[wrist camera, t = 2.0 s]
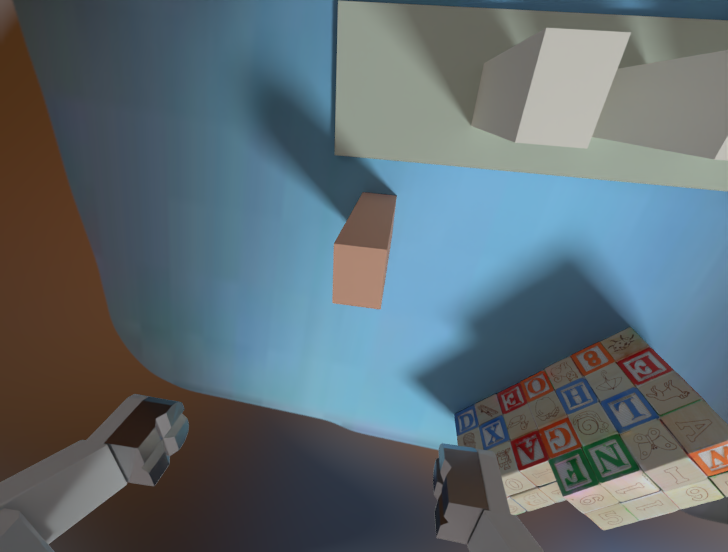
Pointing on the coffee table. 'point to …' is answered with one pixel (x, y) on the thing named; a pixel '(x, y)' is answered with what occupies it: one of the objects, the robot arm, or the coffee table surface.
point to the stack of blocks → (603, 436)
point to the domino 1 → (364, 252)
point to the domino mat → (461, 84)
